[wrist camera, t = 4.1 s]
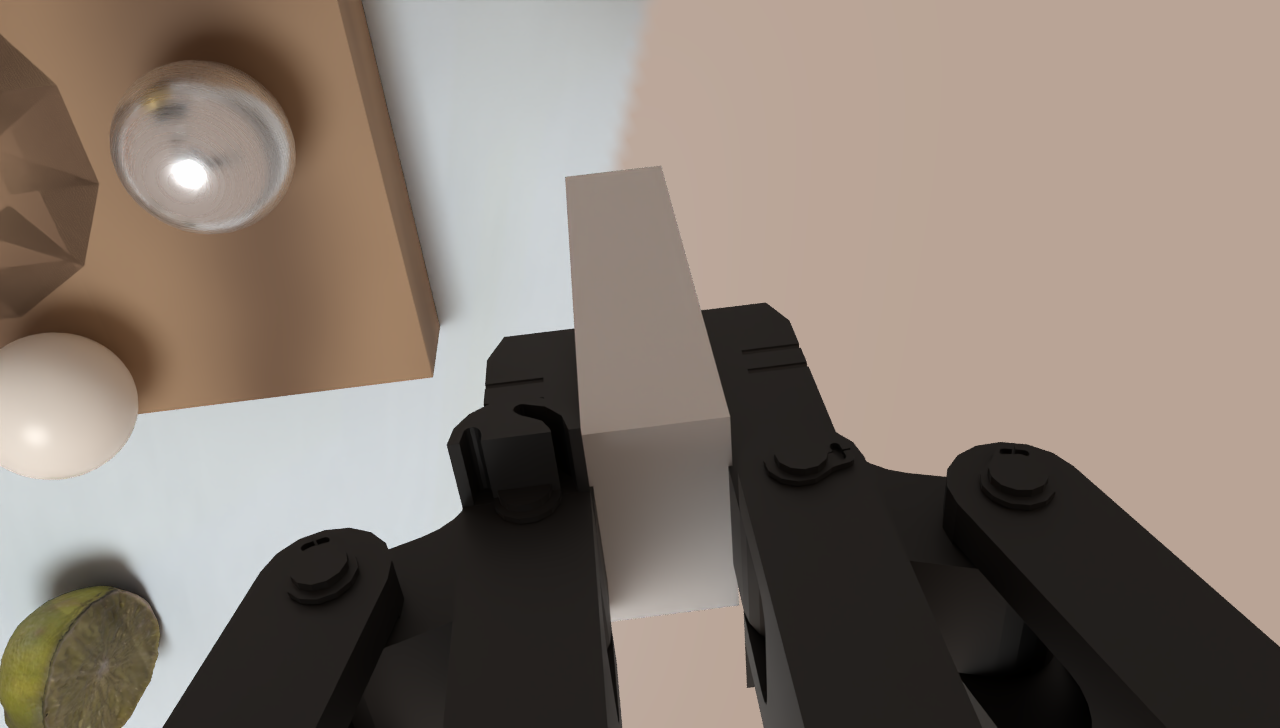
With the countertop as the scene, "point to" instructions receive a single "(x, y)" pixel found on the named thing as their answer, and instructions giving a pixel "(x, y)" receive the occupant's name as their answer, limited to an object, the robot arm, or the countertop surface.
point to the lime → (80, 661)
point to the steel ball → (202, 147)
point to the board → (210, 263)
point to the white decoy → (62, 405)
